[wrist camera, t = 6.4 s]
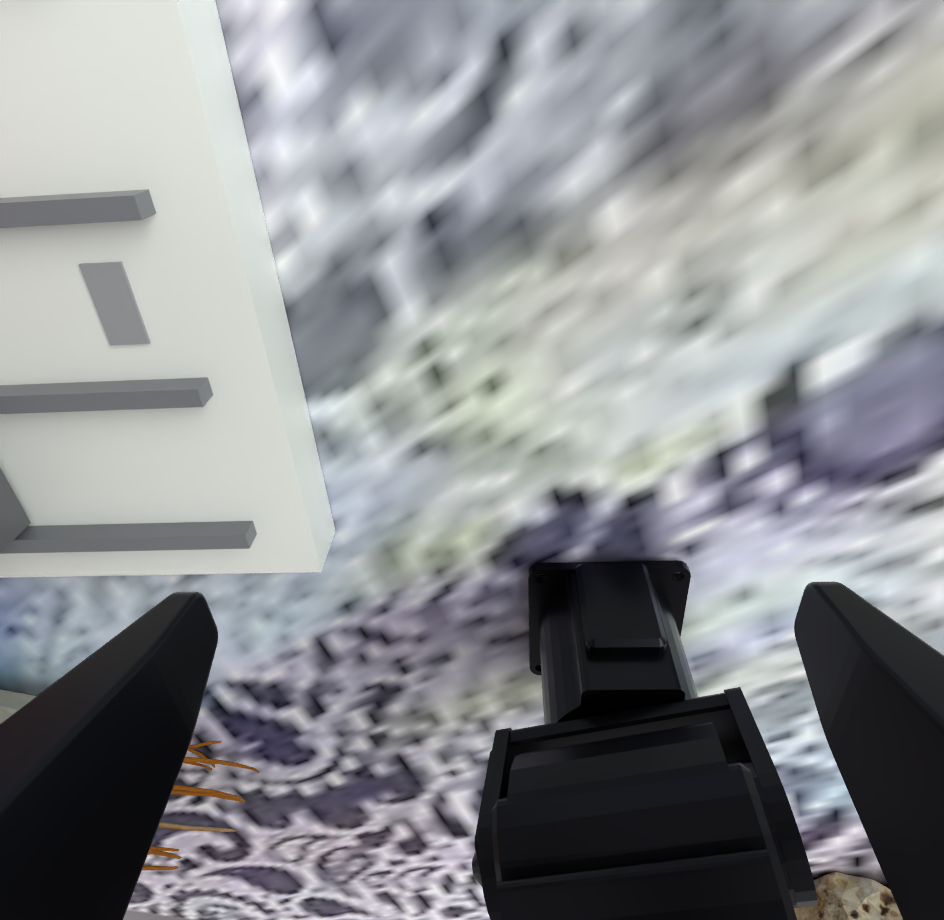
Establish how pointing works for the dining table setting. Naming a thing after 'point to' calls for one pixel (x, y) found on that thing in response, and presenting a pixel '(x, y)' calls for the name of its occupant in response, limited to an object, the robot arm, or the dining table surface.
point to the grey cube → (10, 514)
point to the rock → (850, 900)
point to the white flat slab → (142, 307)
